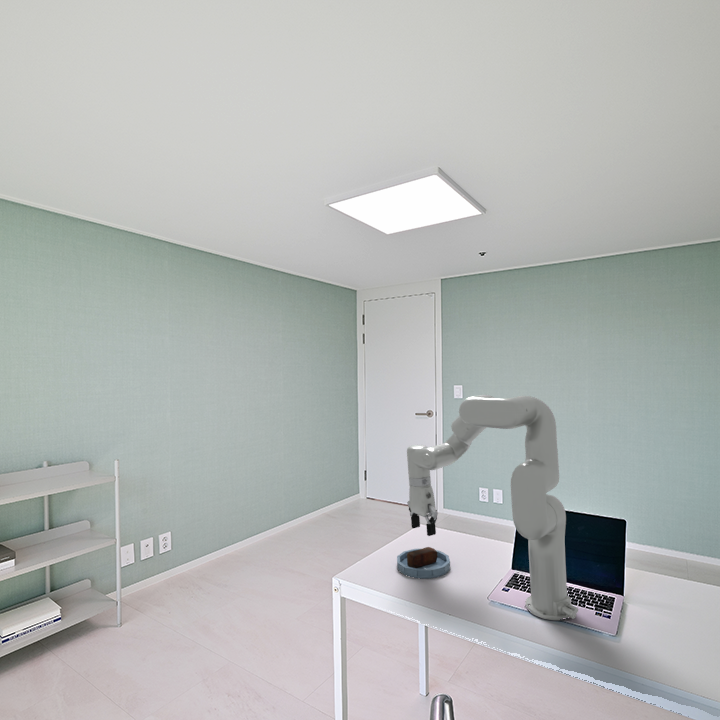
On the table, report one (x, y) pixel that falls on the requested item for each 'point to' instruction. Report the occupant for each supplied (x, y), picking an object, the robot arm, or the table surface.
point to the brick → (421, 557)
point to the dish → (426, 571)
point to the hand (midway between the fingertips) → (423, 531)
